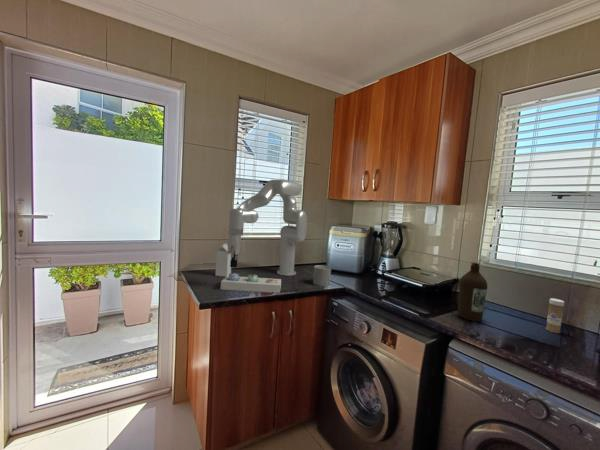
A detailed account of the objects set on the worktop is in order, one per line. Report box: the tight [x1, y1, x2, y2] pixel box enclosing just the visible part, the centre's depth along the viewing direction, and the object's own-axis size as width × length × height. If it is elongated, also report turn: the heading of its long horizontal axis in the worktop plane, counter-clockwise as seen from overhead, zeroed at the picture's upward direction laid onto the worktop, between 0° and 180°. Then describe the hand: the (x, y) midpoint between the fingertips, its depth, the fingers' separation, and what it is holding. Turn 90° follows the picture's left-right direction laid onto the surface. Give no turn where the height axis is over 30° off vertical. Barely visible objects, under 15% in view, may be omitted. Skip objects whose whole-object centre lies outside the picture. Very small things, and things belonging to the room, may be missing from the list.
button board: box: [220, 276, 282, 294], centre depth 149 cm, size 12×30×4 cm, turn 91°
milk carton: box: [215, 243, 232, 278], centre depth 170 cm, size 7×7×19 cm
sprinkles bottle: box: [545, 297, 565, 334], centre depth 117 cm, size 5×5×14 cm
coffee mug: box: [312, 264, 332, 287], centre depth 167 cm, size 13×10×10 cm
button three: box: [247, 274, 258, 282], centre depth 149 cm, size 5×5×4 cm
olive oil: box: [457, 261, 488, 322], centre depth 126 cm, size 11×11×25 cm
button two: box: [229, 272, 240, 281], centre depth 149 cm, size 5×5×4 cm
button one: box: [267, 278, 276, 283], centre depth 149 cm, size 5×5×4 cm
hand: (233, 266), depth 148 cm, fingers closed
